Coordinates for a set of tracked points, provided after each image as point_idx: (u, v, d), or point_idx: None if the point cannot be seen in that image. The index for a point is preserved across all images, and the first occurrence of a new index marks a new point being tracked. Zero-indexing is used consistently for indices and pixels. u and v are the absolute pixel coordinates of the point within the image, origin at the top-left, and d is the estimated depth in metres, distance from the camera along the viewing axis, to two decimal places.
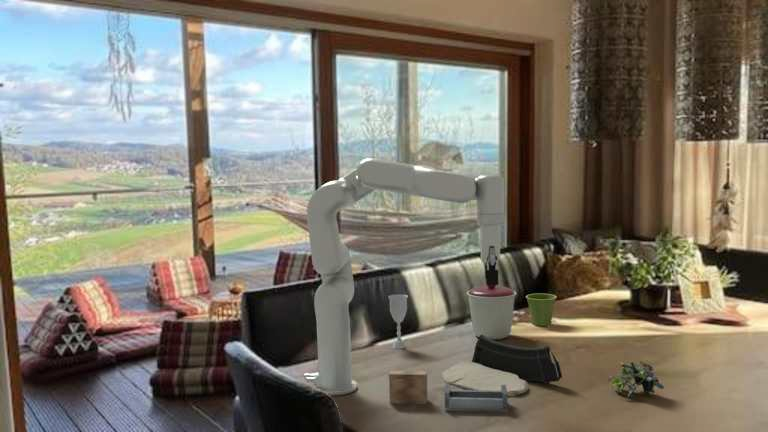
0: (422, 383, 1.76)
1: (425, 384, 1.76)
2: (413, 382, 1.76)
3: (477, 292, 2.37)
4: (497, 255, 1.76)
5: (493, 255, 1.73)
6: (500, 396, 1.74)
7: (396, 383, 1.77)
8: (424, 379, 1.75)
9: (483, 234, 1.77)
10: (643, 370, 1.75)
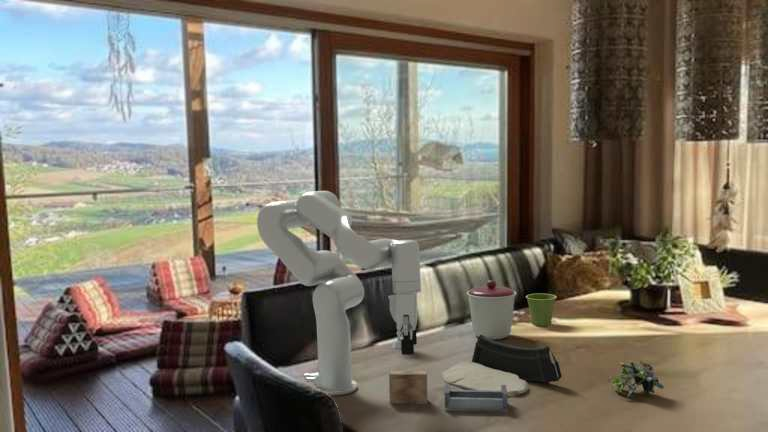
0: (422, 383, 1.76)
1: (425, 384, 1.76)
2: (413, 382, 1.76)
3: (477, 292, 2.37)
4: (412, 324, 1.71)
5: (406, 325, 1.68)
6: (500, 396, 1.74)
7: (396, 383, 1.77)
8: (424, 379, 1.75)
9: (397, 302, 1.72)
10: (643, 370, 1.75)
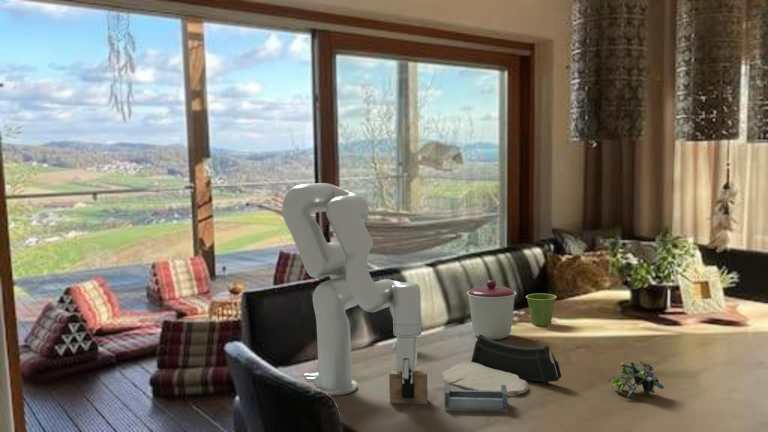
0: (423, 383, 1.76)
1: (425, 384, 1.76)
2: (413, 382, 1.76)
3: (477, 292, 2.37)
4: (412, 372, 1.73)
5: (407, 376, 1.71)
6: (500, 396, 1.74)
7: (396, 382, 1.77)
8: (424, 379, 1.75)
9: (397, 346, 1.73)
10: (643, 370, 1.75)
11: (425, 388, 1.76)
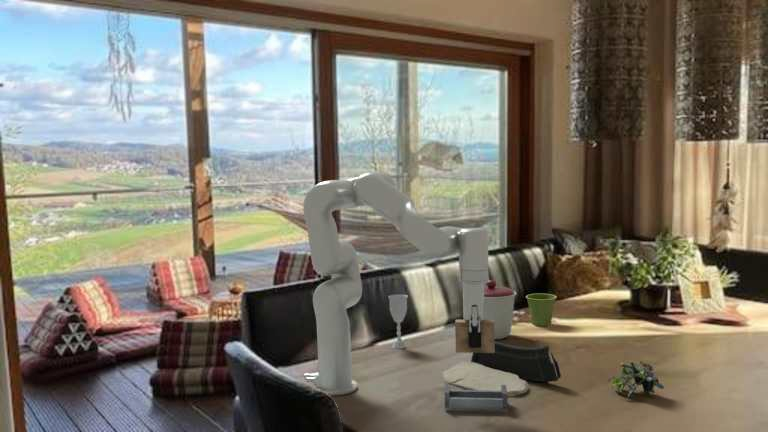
0: (490, 331, 1.69)
1: (493, 332, 1.69)
2: (481, 331, 1.70)
3: None
4: None
5: (475, 323, 1.65)
6: (500, 396, 1.74)
7: (463, 331, 1.70)
8: (492, 327, 1.69)
9: (465, 292, 1.66)
10: (643, 370, 1.75)
11: (493, 337, 1.69)
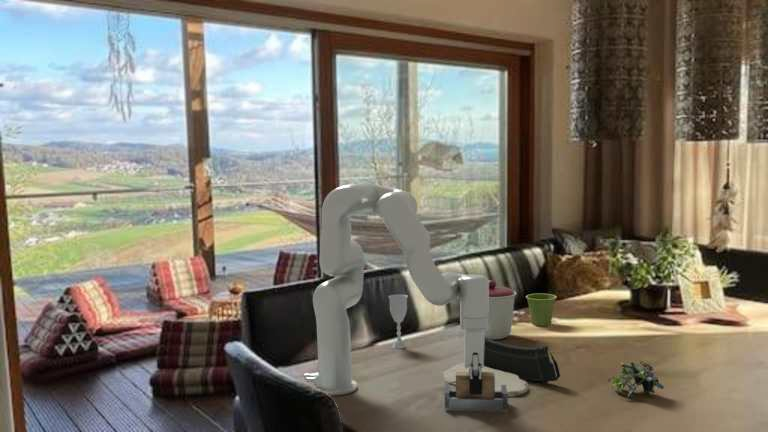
0: (491, 384, 1.71)
1: (493, 385, 1.70)
2: None
3: None
4: (481, 364, 1.67)
5: (476, 367, 1.64)
6: (500, 396, 1.74)
7: (463, 384, 1.71)
8: (492, 380, 1.70)
9: (466, 340, 1.67)
10: (643, 370, 1.75)
11: (493, 390, 1.71)
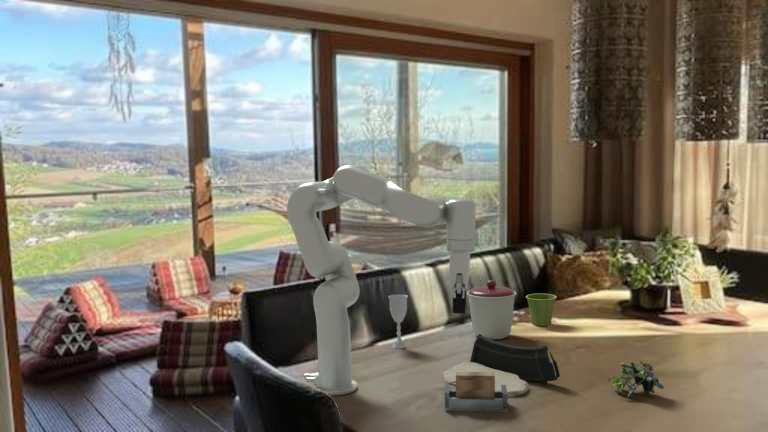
0: (491, 384, 1.71)
1: (493, 385, 1.70)
2: (481, 384, 1.71)
3: (477, 292, 2.37)
4: (465, 283, 1.70)
5: (460, 283, 1.67)
6: (500, 396, 1.74)
7: (463, 384, 1.71)
8: (492, 380, 1.70)
9: (451, 260, 1.71)
10: (643, 370, 1.75)
11: (493, 390, 1.71)
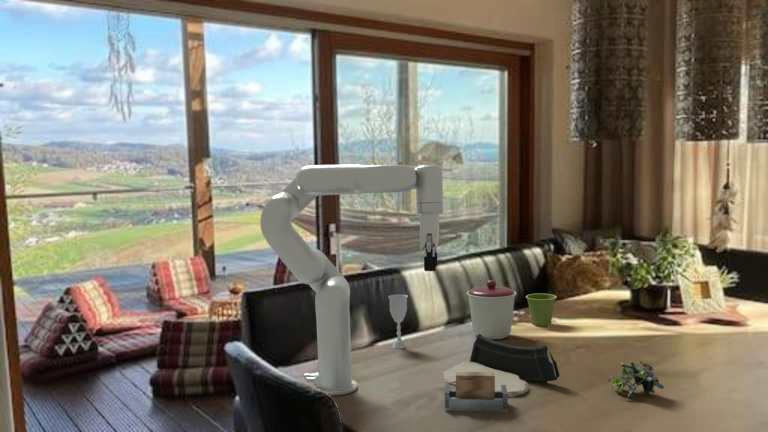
0: (491, 384, 1.71)
1: (493, 385, 1.70)
2: (481, 384, 1.71)
3: (477, 292, 2.37)
4: (434, 242, 1.82)
5: (429, 242, 1.79)
6: (500, 396, 1.74)
7: (463, 384, 1.71)
8: (492, 380, 1.70)
9: (421, 222, 1.83)
10: (643, 370, 1.75)
11: (493, 390, 1.71)
